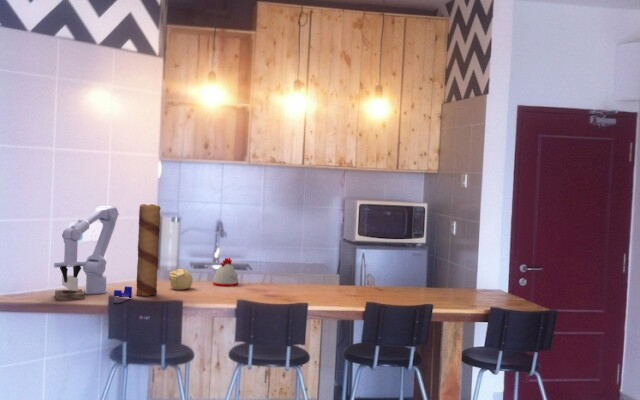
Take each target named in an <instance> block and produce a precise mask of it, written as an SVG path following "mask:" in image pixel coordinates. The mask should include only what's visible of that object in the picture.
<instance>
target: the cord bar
mask: <svg viewBox="0 0 640 400" xmlns="http://www.w3.org/2000/svg"><path fill="white" fill-rule="evenodd" d="M61 275H62V276H61V283H62V284H61V285H62V286H64V288H67V290H77V289H79V278H78V277H77V278H76V277H74V276H73V274H70V273H67V282H66V283H65V282H64V278H63V274H61Z"/></svg>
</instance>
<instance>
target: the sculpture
mask: <svg viewBox="0 0 640 400" xmlns="http://www.w3.org/2000/svg"><path fill="white" fill-rule="evenodd" d="M193 278H194V277H193V276H192V274H191V273H190V271H188V270H186V269H183V268H178V269H174V270H172V271H170V272H169V274H168V279H169V282H170V287H171V288H173V289H174V290H177V291H182V290H187V289H190V288H191V287H192V285H193V283H194V281H193Z"/></svg>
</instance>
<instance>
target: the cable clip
mask: <svg viewBox="0 0 640 400" xmlns="http://www.w3.org/2000/svg"><path fill="white" fill-rule="evenodd" d="M132 293H133V287H132V286H124V289H123V292H122V290H121V289H114V290H113V297H114V296H119V297H129V298H133V297H132V296H133V294H132Z"/></svg>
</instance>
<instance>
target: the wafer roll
mask: <svg viewBox="0 0 640 400" xmlns="http://www.w3.org/2000/svg"><path fill="white" fill-rule="evenodd" d="M161 208H162V207H161V206H160V205H156V204H153V203H152V204H151V203H150V204H145V203H144V204H143V203H141V204H140V205H139V209H138V210H139V211H138V235H137V237H138V239H137V240H138V241H137V243H138V244H137V266H136V296H143V297H146V296H147V297H149V296H154V295H157V293H158V290H157V289H158V288H157V287H158V283H157V282H158V269H159V243H160V231H161V230H160V228H161Z"/></svg>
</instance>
